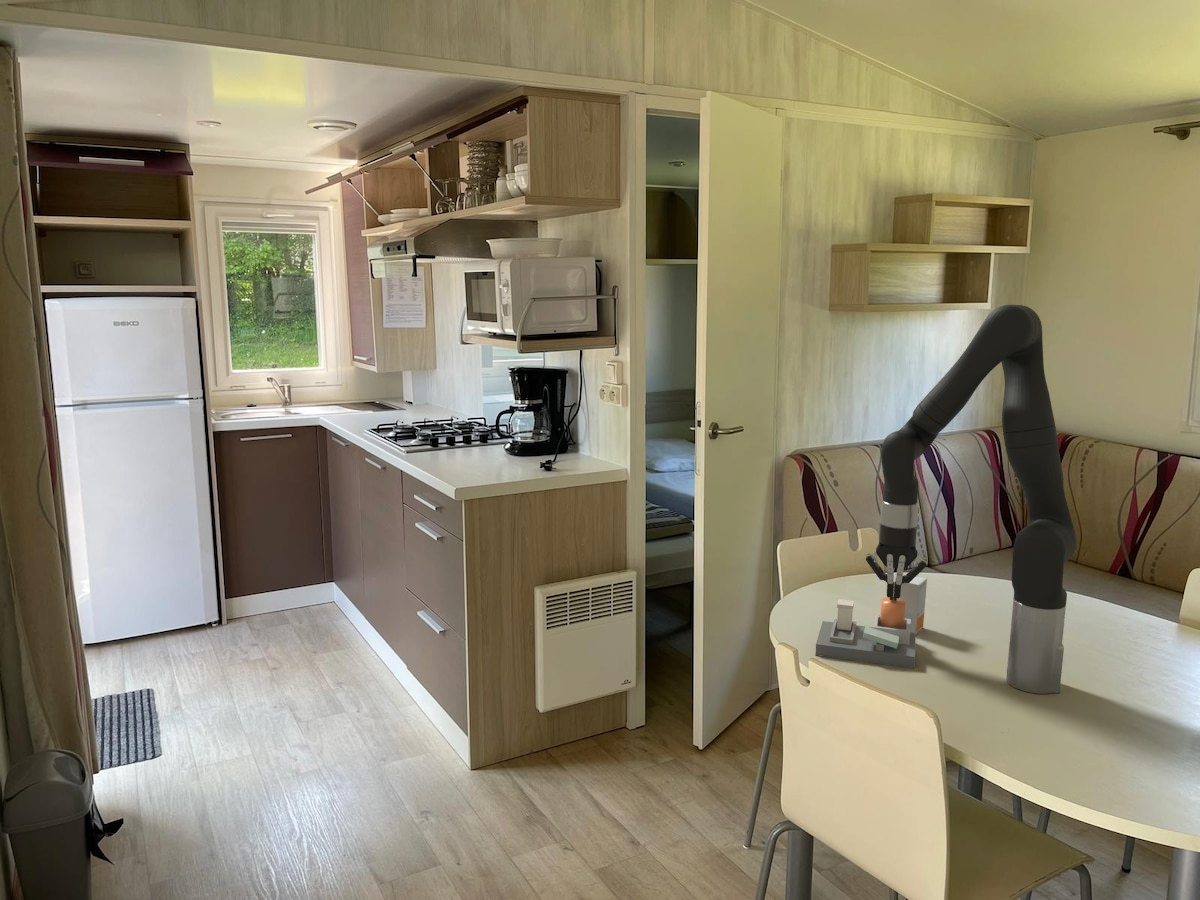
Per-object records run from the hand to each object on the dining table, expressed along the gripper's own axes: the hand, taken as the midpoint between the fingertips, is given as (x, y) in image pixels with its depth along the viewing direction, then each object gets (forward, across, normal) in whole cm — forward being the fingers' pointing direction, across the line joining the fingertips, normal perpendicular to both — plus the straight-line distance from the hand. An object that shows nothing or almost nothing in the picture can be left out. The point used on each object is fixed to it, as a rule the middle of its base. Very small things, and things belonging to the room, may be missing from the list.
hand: (893, 599), depth 193 cm
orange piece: (+5, 0, 0) cm, 5 cm away
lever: (+8, -10, +1) cm, 13 cm away
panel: (+11, -5, -3) cm, 12 cm away
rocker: (+6, -2, -7) cm, 10 cm away
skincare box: (+11, +4, +12) cm, 17 cm away
